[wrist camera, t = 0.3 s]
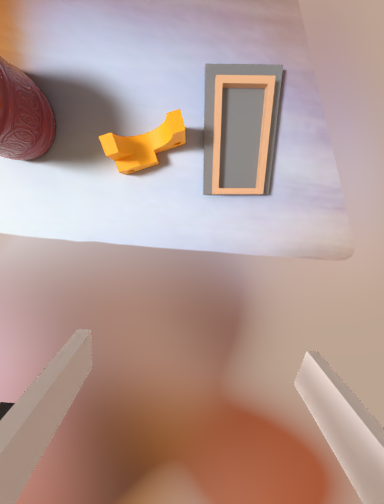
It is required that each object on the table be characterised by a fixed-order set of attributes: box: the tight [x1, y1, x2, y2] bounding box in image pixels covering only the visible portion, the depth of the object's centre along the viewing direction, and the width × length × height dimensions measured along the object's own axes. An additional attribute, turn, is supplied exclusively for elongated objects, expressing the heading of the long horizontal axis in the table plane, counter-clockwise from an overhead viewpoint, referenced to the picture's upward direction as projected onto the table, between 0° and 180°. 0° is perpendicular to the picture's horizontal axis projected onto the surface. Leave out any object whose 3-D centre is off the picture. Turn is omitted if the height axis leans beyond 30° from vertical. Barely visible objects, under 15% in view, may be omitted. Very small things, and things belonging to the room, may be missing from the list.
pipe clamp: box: [98, 109, 186, 175], centre depth 28 cm, size 12×4×6 cm, turn 106°
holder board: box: [203, 64, 283, 195], centre depth 30 cm, size 19×12×2 cm, turn 0°
